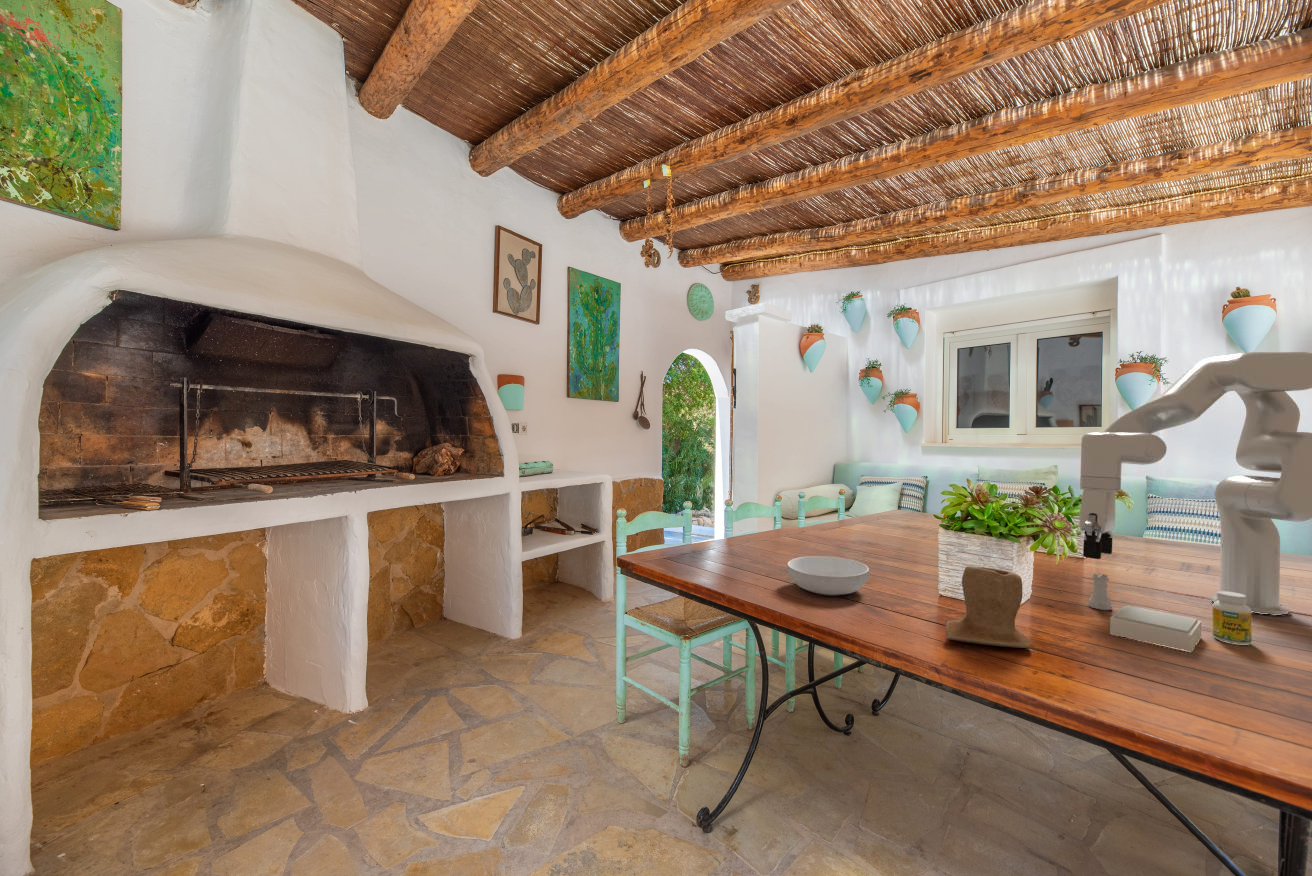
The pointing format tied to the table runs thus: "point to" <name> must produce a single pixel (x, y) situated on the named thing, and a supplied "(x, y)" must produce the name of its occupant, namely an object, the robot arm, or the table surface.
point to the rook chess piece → (1100, 593)
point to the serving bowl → (828, 574)
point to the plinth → (1156, 627)
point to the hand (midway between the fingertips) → (1097, 555)
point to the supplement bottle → (1232, 618)
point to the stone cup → (989, 609)
